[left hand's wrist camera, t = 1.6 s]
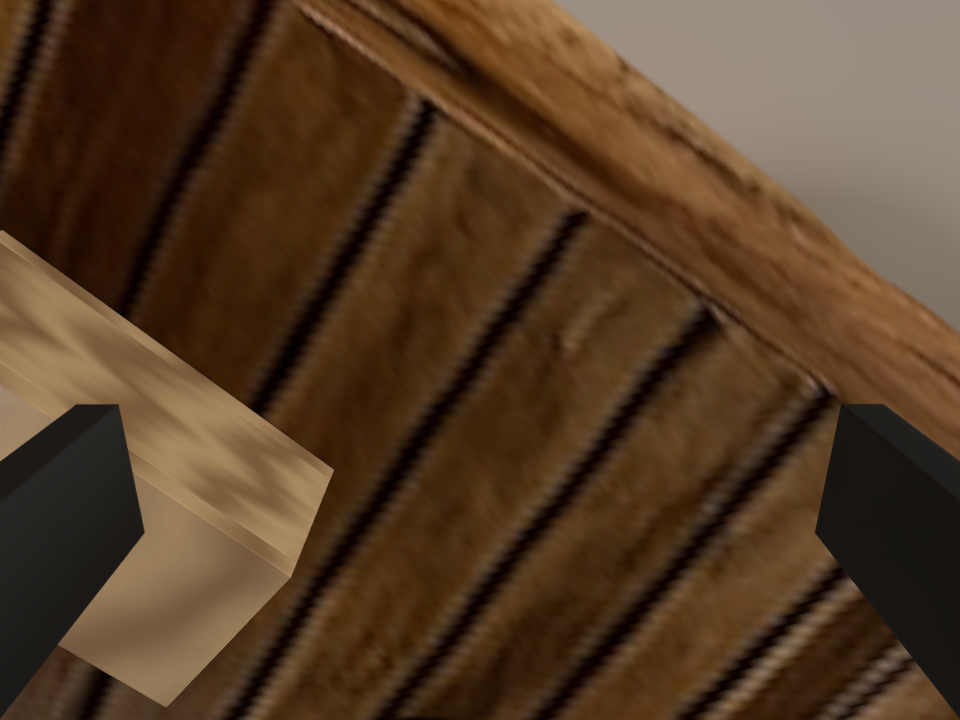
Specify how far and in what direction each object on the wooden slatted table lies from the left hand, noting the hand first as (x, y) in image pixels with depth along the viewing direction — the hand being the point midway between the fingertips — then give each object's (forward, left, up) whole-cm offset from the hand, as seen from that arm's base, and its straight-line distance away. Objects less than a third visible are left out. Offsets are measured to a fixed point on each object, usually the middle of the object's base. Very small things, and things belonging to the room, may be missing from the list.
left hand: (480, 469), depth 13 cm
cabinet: (-19, +12, -23) cm, 32 cm away
